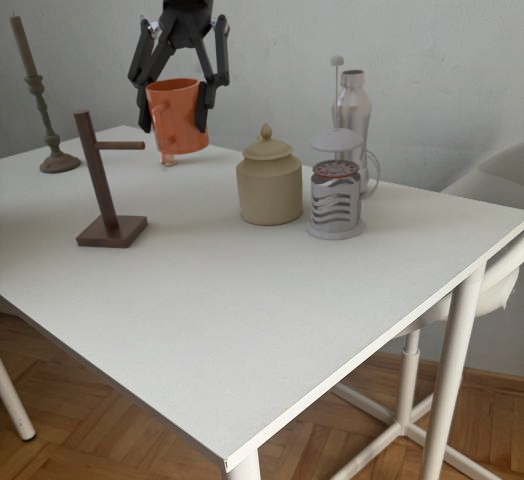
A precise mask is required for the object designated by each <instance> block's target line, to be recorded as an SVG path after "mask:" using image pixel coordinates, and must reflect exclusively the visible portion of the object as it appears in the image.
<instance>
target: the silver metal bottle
mask: <svg viewBox="0 0 524 480" xmlns="http://www.w3.org/2000/svg"><path fill="white" fill-rule="evenodd" d="M365 84H366V83H365V70H362V69H347V70H343V71H341V72H340V82H339V85H340V87H341V89H340V91H339V92H337V128H343V129H349V130H352V131H353V132H355V133H357V134H358V135H360V136H362V137H363V143H362V145H361V146H359V147H358V148H356V149H354V150H351V151H346V152H337V159H338V160H339V159H340V160H341V159H342V160H349V161H352V162H355V163H356V164H358V165H359V170H358V171H357V172H358V173H359V174H360V175H361V182H360V194H363V193H364V192H365V191H366V189H368V187H369V181H370V172H369V166H368V157H367V156H365V155H364V154H363V159H362V161H360V154H361V151H362V150H363V149H367V145H368V141H367V140H368V132H369V125H370V120H371V113H372V102H371V99H370V97H369V95H368V94H367V93H366V91H365V89H364V87H363V86H364V85H365ZM331 116H332V123H333V124H332V125H333V128H335V127H336V97H335V98H334V100H333V101H332V105H331ZM363 153H366V154H367V153H368V152H367V151H364V152H363ZM367 155H368V154H367ZM333 160H335V158H334V159H333ZM341 179H348V180H350V181H352V182H354V183H356V181H355V180H354V179H353V178H352V177H350V176H349V177H345V178H334V179H332V180H331V184H332V183H334V182H336V181H338V180H341ZM347 185H350V184H347V183H343V184H338V185H336V186H334V187H341V186H347ZM347 195H348V194H347Z"/></svg>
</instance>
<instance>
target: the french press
mask: <svg viewBox="0 0 524 480" xmlns="http://www.w3.org/2000/svg"><path fill="white" fill-rule="evenodd" d="M329 60H330V61H329V66H331V67H335V98H336V127H335V128H334V127H333V128H327V129H324V130H321V131H320V132H318V133H317V134H315V135H313V136H312V137H311V138H309V140H308V145H309V147H310V148H311V149H312V150H314V151H316V152H320V153H328V154H331V153H332V154H333V153H334V159H335V160H334V159H327V160H324V161H319V162H317V163H316V164H315V165H313V167H312V172H313V174H312V175H311V176H310V197H311V198H310V206H311V207H310V210H311V211H310V214H311V217H310V218H311V219H309V221H307V223H306V224H305V231H306V232H307V233H308V234H309V235H311V236H313V237H315V238H318V239H322V240H327V241H336V240H337V241H340V240H346V239H351V238H354V237H356V236H358V235H361V234H362V233H363V231H364V230H365V229H366V223H365V222H364V220H363V219H361V216H362V214H361V213H362V201H365V200H367V199H369V198H370V197H371V196H372V195H373V194H374V193H375V192H376V189H377V188H378V185H379V182H380V178H381V172H382V169H381V164H380V161H379V159H378V157H377V156H376V155H375V154H374V153H373V152H372V151H370V150H369V149H367V148H366V149H363V150H362V151H361V154H360V161H362V159H363V154H364V155H365V156H367V158H369V160H370V161H372V162H373V165H374V167H375V169H376V173H377V174H376V183H375V185H374V186H373V188H372V189H371V190H370V191H368V192H366V193H362V195H361V193H360V182H361V175H360V174H359V173H358V172H357V171H358V170H359V165H358V164H356V163H355V162H352V161H349V160H342V159H341V160H340V159H339V160H338V159H337V152H346V151H351V150H354V149H356V148H358V147H359V146H361V145H362V143H363V137H362V136H360V135H358V134H357V133H355V132H353V131H352V130H349V129H343V128H337V95H338V81H339V80H338V76H339V75H338V73H339V71H338V69H339V66H340V67H341V66H344V64H345V60H344V57H343V56H342V55H340V54H336V55H332V56H331V57H330V59H329ZM364 151H367V153H368V154H366V153H363V152H364ZM369 154H370V155H371V156H370V155H369ZM372 157H373V158H372ZM349 176H350V177H352V178H353V179H354V180H355V181H356V183H354V182H352V181H350V180H348V179H341V180H338V181H336V182H334V183H332V179H334V178H345V177H349ZM330 181H331V183H330V184H328V185H323V184H326V183H328V182H330ZM343 183H347V184H350V185H347V186H341V187H334V186H336V185H338V184H343ZM337 194H338V195H337ZM347 194H348V195H347ZM334 195H336V196H334ZM331 196H334V197H332V198H329V197H331ZM327 198H328V199H327ZM324 199H326V200H324ZM321 200H323V201H321ZM334 203H335V204H334ZM330 204H333V205H331V206H328V207H325V206H327V205H330ZM322 207H325V208H322ZM319 208H322V209H319Z"/></svg>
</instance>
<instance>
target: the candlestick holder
mask: <svg viewBox="0 0 524 480" xmlns="http://www.w3.org/2000/svg"><path fill="white" fill-rule="evenodd" d="M8 21H9V24H10V27H11V31H12V33H13V37H14V40H15V43H16V47H17V50H18V52H19V56H20V59H21V62H22V65H23V68H24V72H25V74H26V76H25V77H23V81H24V83H26V84H27V85H28V87H27V91H28V92H29V94H31V95H33V96H34V97H35V103H36V109H37V111H38V112H39V114H40V116H41V120H42V124H43V126H44V128H45V135H44V136H43V141H44V143H45V144H46V146H47V147H49V149H50V154H49V156H47V157H45V159H44V160H43V162H42V163H40V165H39V170H40V171H41V172H42V173H45V174H57V173H64V172H68V171H71V170H73V169H75V168H77V167H79V166H80V165H81V160H80V158H79V157H77V156H74V155H72V154H70V153H65V152H63V151H62V150H61V147H60V144H61V136H60V135H59V133H56V132H55V131H54V129H53V127H52V122H51V121H52V120H51V119H50V116H49V112H48V104H47V103H46V101H45V98H44V96H43V94H44V92H45V91H46V88H45V86H44V84H43V83H42V82H43V79H44V77H43V75H42V74H39V73H38V70H37V68H36V64H35V60H34V58H33V54H32V50H31V48H30V44H29V41H28V38H27V35H26V34H27V33H26V31H25V28H24V25H23V22H22V18H21V16H20V15H15V11H12V16H9V17H8Z"/></svg>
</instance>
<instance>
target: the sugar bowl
mask: <svg viewBox="0 0 524 480" xmlns="http://www.w3.org/2000/svg"><path fill="white" fill-rule="evenodd" d="M272 136H273V129H272V127H271V126H270V125H269V124H268V123H266V122H265V123H264V124H263V125H262V126H261V129H260V134H258V135H257V136H256V141H253V142H252V143H250V144H249V145H248V146H246V147H245V148H244V149H243V150H242V153H241V155H242V157H244V158H243V159H242V160H240V161H239V162H238V163H237V164H236V166H235V172H236V173H235V175H236V187H237V196H238V204H239V211H240V216H241V218H242V219H243V220H244V221H245V222H247V223H249V224H251V225H257V226H277V225H284V224H286V223H290V222H292V221H295V220H296V219H298V218H299V217H300V216H301V215H302V213H303V209H304V207H303V206H304V203H303V201H304V200H303V199H304V198H303V165H302V160H300V158H298V157H297V156H295V155H293V154H292V153H293V152H294V148H293V146H291V145H290V144H288V143H287V142H285V141H284V140H282V139H279V138H271V137H272Z"/></svg>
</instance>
